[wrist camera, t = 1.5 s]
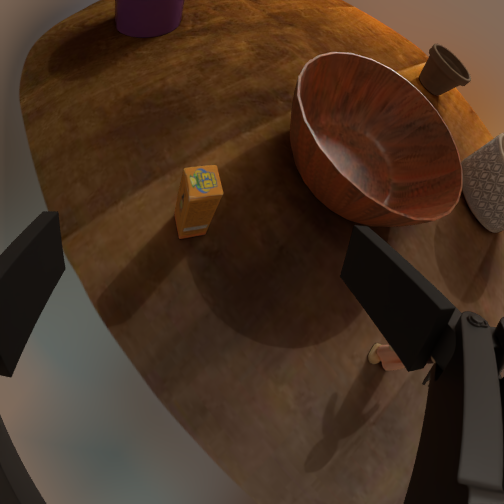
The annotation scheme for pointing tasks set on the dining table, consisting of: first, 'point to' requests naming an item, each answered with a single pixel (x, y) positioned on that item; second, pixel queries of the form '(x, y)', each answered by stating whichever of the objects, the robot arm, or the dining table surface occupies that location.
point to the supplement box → (197, 200)
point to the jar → (147, 17)
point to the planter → (486, 184)
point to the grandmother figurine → (387, 357)
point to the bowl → (372, 143)
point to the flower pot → (443, 71)
